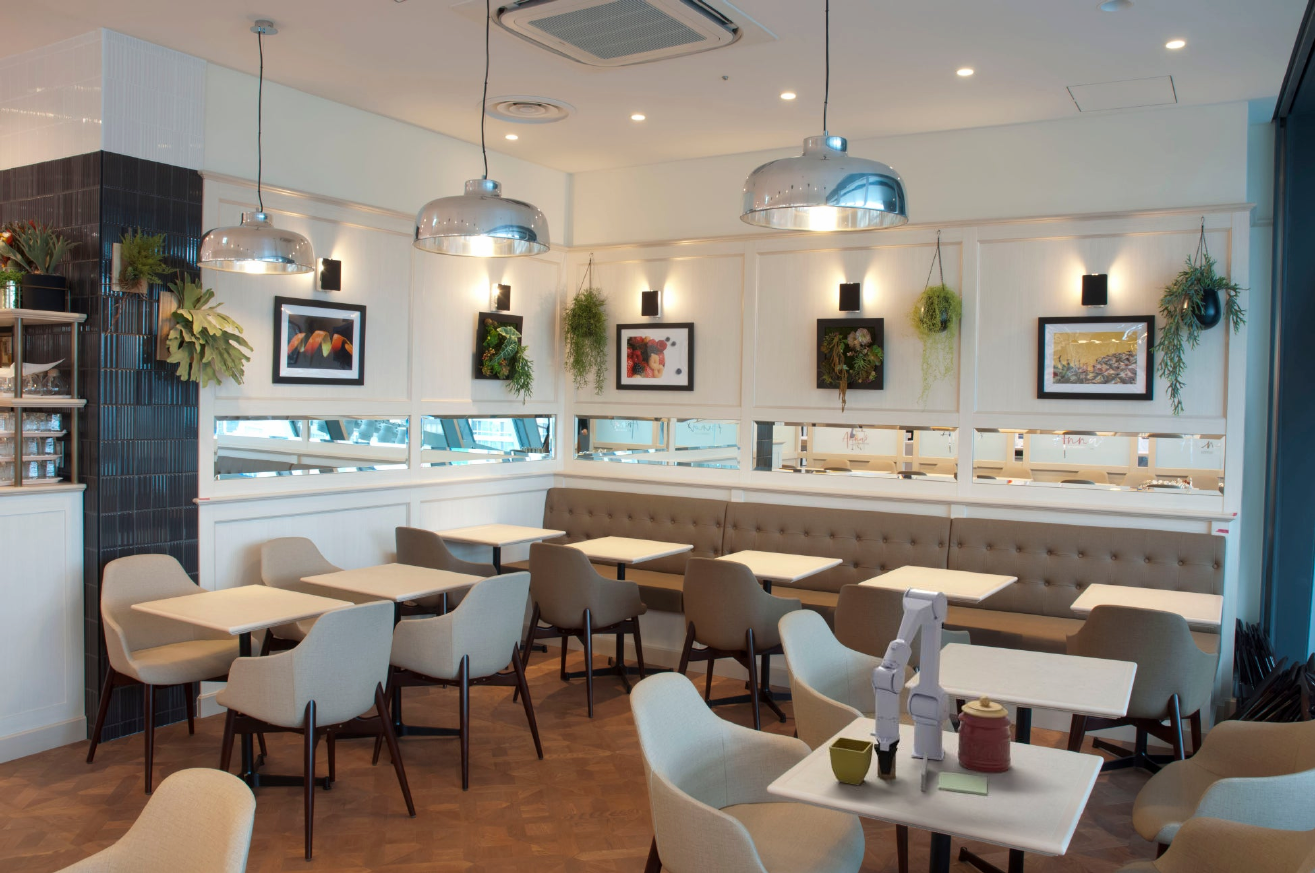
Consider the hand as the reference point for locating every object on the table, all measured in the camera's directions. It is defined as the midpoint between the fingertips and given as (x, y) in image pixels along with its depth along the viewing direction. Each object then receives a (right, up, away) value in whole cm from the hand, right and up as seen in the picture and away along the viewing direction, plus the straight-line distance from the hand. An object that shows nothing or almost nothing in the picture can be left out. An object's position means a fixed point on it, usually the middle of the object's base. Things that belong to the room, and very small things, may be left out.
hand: (886, 770), depth 238 cm
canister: (+27, -2, +9) cm, 29 cm away
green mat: (+17, -2, -5) cm, 18 cm away
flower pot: (-9, -2, -3) cm, 10 cm away
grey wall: (+9, -2, -2) cm, 9 cm away
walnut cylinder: (0, -1, 0) cm, 1 cm away
